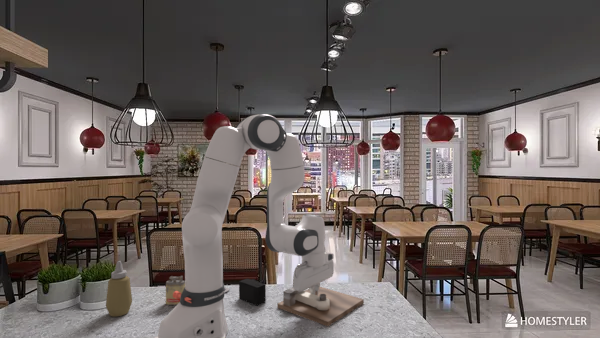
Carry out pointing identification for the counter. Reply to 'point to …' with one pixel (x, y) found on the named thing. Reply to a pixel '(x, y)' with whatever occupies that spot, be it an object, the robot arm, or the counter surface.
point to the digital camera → (252, 291)
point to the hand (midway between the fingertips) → (314, 295)
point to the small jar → (174, 289)
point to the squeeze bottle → (118, 292)
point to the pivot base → (338, 309)
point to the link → (313, 300)
